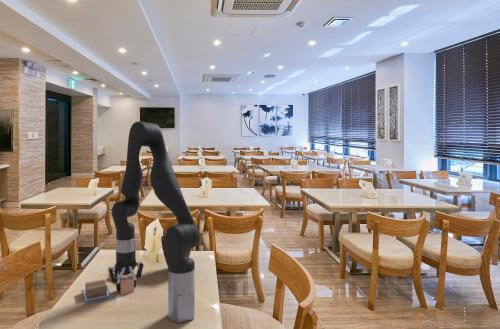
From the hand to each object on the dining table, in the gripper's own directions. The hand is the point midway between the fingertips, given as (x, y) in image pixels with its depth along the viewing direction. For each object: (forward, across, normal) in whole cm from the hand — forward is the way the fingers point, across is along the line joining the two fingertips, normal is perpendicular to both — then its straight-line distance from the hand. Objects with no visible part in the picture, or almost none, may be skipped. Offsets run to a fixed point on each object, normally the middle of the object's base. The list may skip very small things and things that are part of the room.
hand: (126, 289), depth 146 cm
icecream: (+1, +2, +16) cm, 16 cm away
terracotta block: (+1, 0, 0) cm, 1 cm away
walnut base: (0, -11, +3) cm, 11 cm away
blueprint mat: (+1, -11, +2) cm, 11 cm away
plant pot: (+1, +26, +13) cm, 29 cm away
